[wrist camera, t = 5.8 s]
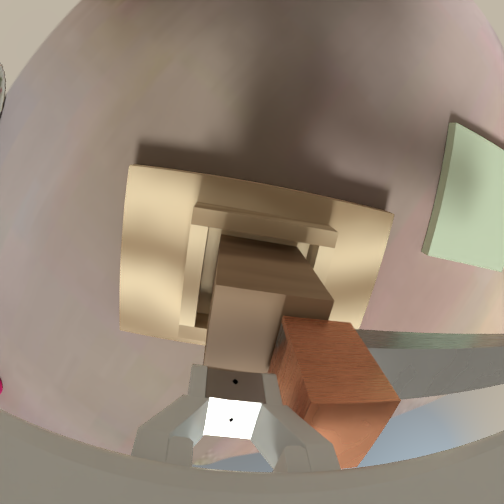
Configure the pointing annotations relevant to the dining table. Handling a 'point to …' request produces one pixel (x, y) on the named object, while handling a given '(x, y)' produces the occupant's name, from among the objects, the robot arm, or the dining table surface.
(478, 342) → the bar
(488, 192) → the sage pad
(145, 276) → the well board
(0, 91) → the cake
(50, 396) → the dining table surface
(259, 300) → the walnut block
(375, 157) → the dining table surface
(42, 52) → the dining table surface
